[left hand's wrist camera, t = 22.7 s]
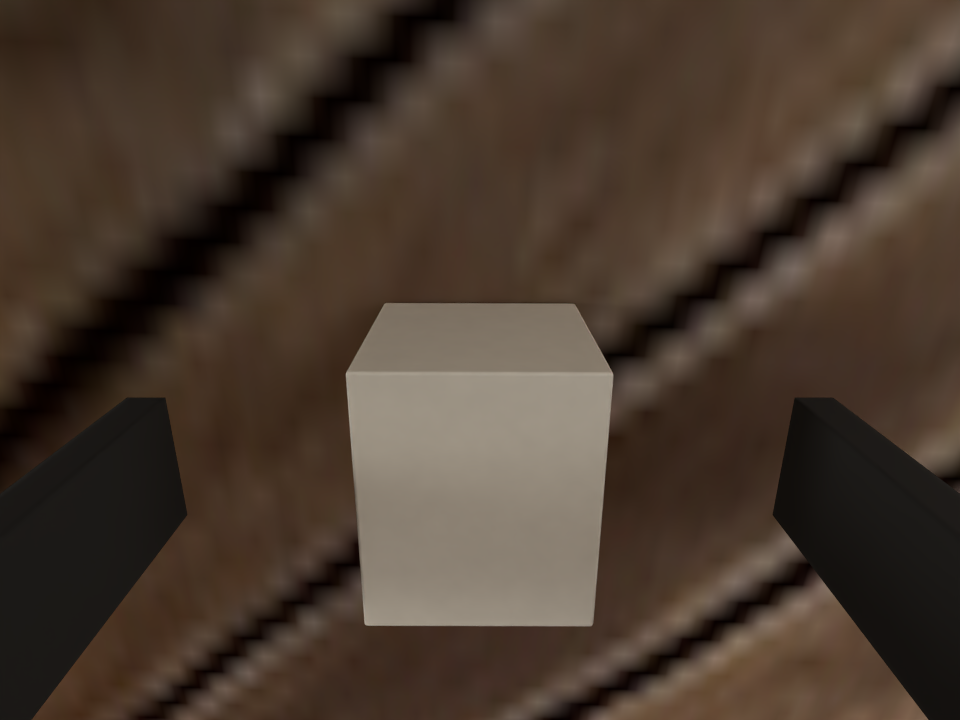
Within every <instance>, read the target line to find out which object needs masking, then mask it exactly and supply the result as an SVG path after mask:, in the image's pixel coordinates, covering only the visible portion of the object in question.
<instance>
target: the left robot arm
mask: <svg viewBox="0 0 960 720" xmlns="http://www.w3.org/2000/svg"><path fill="white" fill-rule="evenodd" d="M186 516H187V510H186V505H185V500H184V495H183V489H182V484H181V479H180V473H179V468H178V463H177V457H176V452H175V447H174V442H173V436H172V431H171V426H170V420H169V415H168V410H167V404H166V399H165V398H126V399H125V400H123V401H122V402H121V403H119V404H118V405H117V406H116V407H114V408H113V409H112V410H110V411H109V412H108V413H106V414H105V415H104V416H102V417H101V418H100V419H98V420H97V421H96V422H94V423H93V424H92V425H90V426H89V427H88V428H86V429H85V430H84V431H83V432H81V433H80V434H79V435H77V436H76V437H75V438H73V439H72V440H71V441H69V442H68V443H67V444H65V445H64V446H63V447H61V448H60V449H59V450H57V451H56V452H55V453H53V454H52V455H51V456H50V457H48V458H47V459H46V460H44V461H43V462H42V463H40V464H39V465H38V466H36V467H35V468H34V469H32V470H31V471H30V472H28V473H27V474H26V475H24V476H23V477H22V478H20V479H19V480H18V481H17V482H15V483H14V484H13V485H11V486H10V487H9V488H7V489H6V490H5V491H3V492H2V493H1V494H0V720H32V718H33V717H34V716H35V714H36V713H37V712H38V710H39V709H40V708H41V706H42V705H43V704H44V702H45V701H46V700H47V699H48V697H49V696H50V695H51V693H52V692H53V691H54V689H55V688H56V687H57V685H58V684H59V683H60V681H61V680H62V679H63V678H64V676H65V675H66V674H67V672H68V671H69V670H70V668H71V667H72V666H73V664H74V663H75V662H76V660H77V659H78V658H79V657H80V655H81V654H82V653H83V651H84V650H85V649H86V647H87V646H88V645H89V643H90V642H91V641H92V639H93V638H94V637H95V635H96V634H97V633H98V632H99V630H100V629H101V628H102V626H103V625H104V624H105V622H106V621H107V620H108V618H109V617H110V616H111V614H112V613H113V612H114V611H115V609H116V608H117V607H118V605H119V604H120V603H121V601H122V600H123V599H124V597H125V596H126V595H127V593H128V592H129V591H130V589H131V588H132V587H133V586H134V584H135V583H136V582H137V580H138V579H139V578H140V576H141V575H142V574H143V572H144V571H145V570H146V568H147V567H148V566H149V565H150V563H151V562H152V561H153V559H154V558H155V557H156V555H157V554H158V553H159V551H160V550H161V549H162V547H163V546H164V545H165V544H166V542H167V541H168V540H169V538H170V537H171V536H172V534H173V533H174V532H175V530H176V529H177V528H178V526H179V525H180V524H181V522H182V521H183V520H184V519H185V517H186ZM773 516H774V517H775V519H776V520H777V521H778V522H779V524H780V525H781V526H782V528H783V529H784V530H785V532H786V533H787V534H788V536H789V537H790V538H791V540H792V541H793V542H794V543H795V545H796V546H797V547H798V549H799V550H800V551H801V553H802V554H803V555H804V557H805V558H806V559H807V561H808V562H809V563H810V565H811V566H812V567H813V568H814V570H815V571H816V572H817V574H818V575H819V576H820V578H821V579H822V580H823V582H824V583H825V584H826V586H827V587H828V588H829V589H830V591H831V592H832V593H833V595H834V596H835V597H836V599H837V600H838V601H839V603H840V604H841V605H842V607H843V608H844V609H845V611H846V612H847V613H848V614H849V616H850V617H851V618H852V620H853V621H854V622H855V624H856V625H857V626H858V628H859V629H860V630H861V632H862V633H863V634H864V635H865V637H866V638H867V639H868V641H869V642H870V643H871V645H872V646H873V647H874V649H875V650H876V651H877V653H878V654H879V655H880V656H881V658H882V659H883V660H884V662H885V663H886V664H887V666H888V667H889V668H890V670H891V671H892V672H893V674H894V675H895V676H896V678H897V679H898V680H899V681H900V683H901V684H902V685H903V687H904V688H905V689H906V691H907V692H908V693H909V695H910V696H911V697H912V699H913V700H914V701H915V702H916V704H917V705H918V706H919V708H920V709H921V710H922V712H923V713H924V714H925V716H926V717H927V718H928V720H960V494H959V493H958V492H957V491H955V490H954V489H953V488H951V487H950V486H949V485H947V484H946V483H945V482H943V481H942V480H941V479H940V478H938V477H937V476H936V475H934V474H933V473H932V472H930V471H929V470H928V469H926V468H925V467H924V466H922V465H921V464H920V463H918V462H917V461H916V460H914V459H913V458H912V457H910V456H909V455H908V454H907V453H905V452H904V451H903V450H901V449H900V448H899V447H897V446H896V445H895V444H893V443H892V442H891V441H889V440H888V439H887V438H885V437H884V436H883V435H881V434H880V433H879V432H877V431H876V430H875V429H874V428H872V427H871V426H870V425H868V424H867V423H866V422H864V421H863V420H862V419H860V418H859V417H858V416H856V415H855V414H854V413H852V412H851V411H850V410H848V409H847V408H846V407H845V406H843V405H842V404H841V403H839V402H838V401H837V400H835V399H834V398H795V399H794V405H793V410H792V415H791V420H790V426H789V431H788V436H787V442H786V447H785V452H784V458H783V463H782V468H781V473H780V479H779V484H778V489H777V495H776V500H775V505H774V511H773Z"/></svg>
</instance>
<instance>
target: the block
mask: <svg viewBox="0 0 960 720" xmlns="http://www.w3.org/2000/svg"><path fill="white" fill-rule="evenodd" d="M346 384H347V397H348V410H349V423H350V437H351V450H352V463H353V476H354V489H355V503H356V516H357V529H358V542H359V555H360V569H361V582H362V595H363V608H364V621H365V625H367V626H592V625H593V619H594V606H595V594H596V582H597V570H598V558H599V545H600V533H601V521H602V509H603V496H604V484H605V472H606V460H607V447H608V435H609V423H610V411H611V399H612V386H613V373H612V371H611V369H610V367H609V365H608V364H607V362H606V360H605V358H604V356H603V354H602V353H601V351H600V349H599V347H598V345H597V344H596V342H595V340H594V338H593V336H592V334H591V333H590V331H589V329H588V327H587V325H586V323H585V322H584V320H583V318H582V316H581V314H580V313H579V311H578V309H577V307H576V305H575V304H529V303H385V304H384V306H383V307H382V309H381V311H380V313H379V315H378V316H377V318H376V320H375V322H374V324H373V325H372V327H371V329H370V331H369V333H368V334H367V336H366V338H365V340H364V342H363V343H362V345H361V347H360V349H359V351H358V352H357V354H356V356H355V358H354V360H353V361H352V363H351V365H350V367H349V369H348V370H347V372H346Z"/></svg>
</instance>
